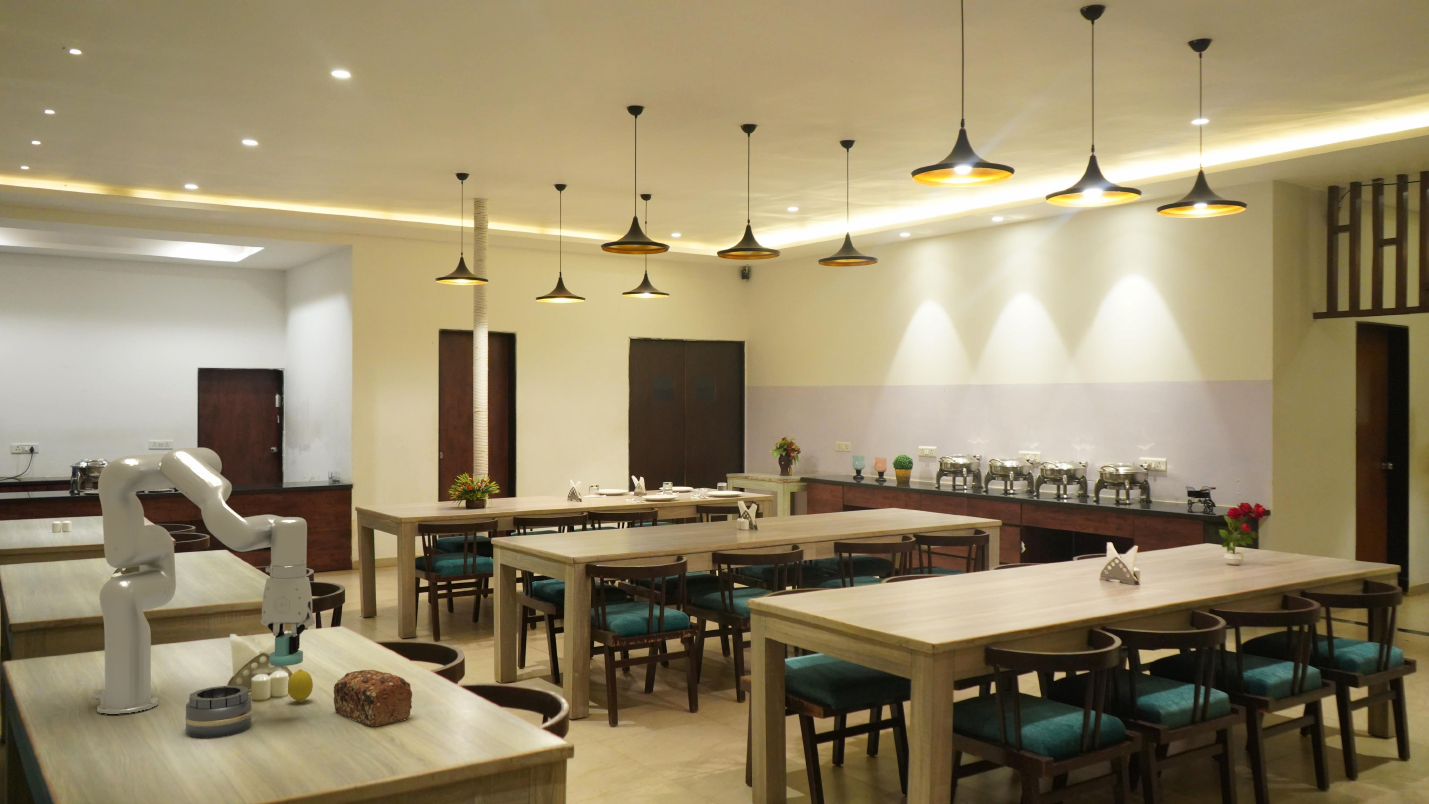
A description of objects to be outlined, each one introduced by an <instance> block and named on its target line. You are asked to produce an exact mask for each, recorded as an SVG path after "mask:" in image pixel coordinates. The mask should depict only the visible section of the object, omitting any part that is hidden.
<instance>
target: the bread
mask: <svg viewBox="0 0 1429 804" xmlns="http://www.w3.org/2000/svg"><path fill="white" fill-rule="evenodd" d="M333 695H334V696H333V704H334V710H335V713H336V714H339V715H342V716H343V717H346V718H347V719H350V718H351V719H350V720H352V719H353V720H352V721H354V720H356V721H355V722H358V723H359V722H360V724H362V725H365V726H367V725H368V726H370V727H382V726H386V725H390V724H394V723H393V722H395V723H398V722H397V721H399V722H402V721H401V720H404V719H406V720H408V719H409V717H410V714H411V710H412V703H413V701H412V698H413V691H412V688H411V683H409V682H408V681H407V680H405V678H403V677H401V676H399V675H396V674H392V673H390V672H389V673H388V672H383V671H379V670H376V669H362V670H356V671H355V670H354V671H351V672H347V673H346V674H345V675H344V676H342V677H341V678H339V679H338V680H337V682H336V683H335V684H334V686H333ZM407 718H408V719H407ZM404 721H405V720H404ZM389 723H390V724H389ZM381 725H382V726H381ZM368 726H367V727H368Z"/></svg>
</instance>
